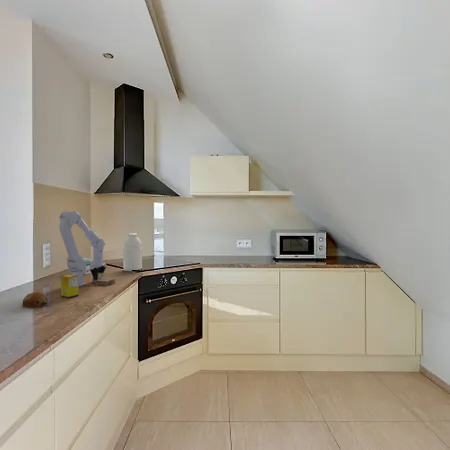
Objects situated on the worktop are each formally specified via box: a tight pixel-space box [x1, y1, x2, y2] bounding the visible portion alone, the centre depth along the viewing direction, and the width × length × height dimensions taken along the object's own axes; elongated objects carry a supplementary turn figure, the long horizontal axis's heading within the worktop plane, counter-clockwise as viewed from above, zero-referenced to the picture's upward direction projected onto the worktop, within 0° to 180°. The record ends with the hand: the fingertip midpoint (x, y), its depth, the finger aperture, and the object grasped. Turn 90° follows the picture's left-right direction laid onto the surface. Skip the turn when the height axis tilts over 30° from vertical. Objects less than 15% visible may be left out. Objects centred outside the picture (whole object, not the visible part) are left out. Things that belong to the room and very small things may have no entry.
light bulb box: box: [82, 257, 92, 275], centre depth 231 cm, size 11×7×11 cm, turn 84°
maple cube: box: [91, 272, 105, 283], centre depth 205 cm, size 5×5×5 cm
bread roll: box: [22, 291, 49, 309], centre depth 149 cm, size 10×10×8 cm
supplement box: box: [60, 274, 79, 299], centre depth 166 cm, size 6×6×11 cm
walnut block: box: [95, 277, 116, 287], centre depth 197 cm, size 8×8×3 cm
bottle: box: [122, 232, 143, 272], centre depth 249 cm, size 14×14×28 cm
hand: (98, 279), depth 205 cm, fingers closed on maple cube, 5 cm apart
